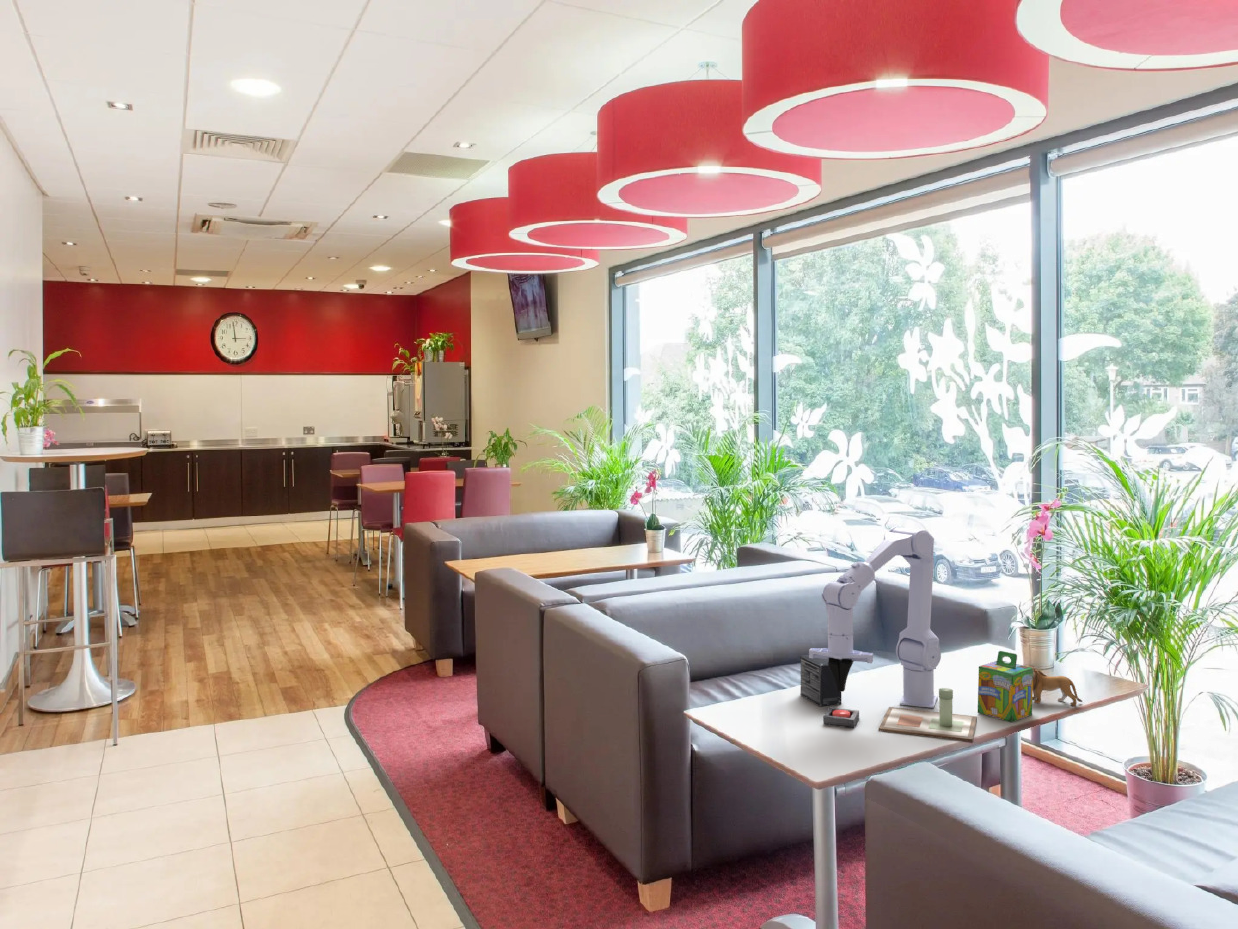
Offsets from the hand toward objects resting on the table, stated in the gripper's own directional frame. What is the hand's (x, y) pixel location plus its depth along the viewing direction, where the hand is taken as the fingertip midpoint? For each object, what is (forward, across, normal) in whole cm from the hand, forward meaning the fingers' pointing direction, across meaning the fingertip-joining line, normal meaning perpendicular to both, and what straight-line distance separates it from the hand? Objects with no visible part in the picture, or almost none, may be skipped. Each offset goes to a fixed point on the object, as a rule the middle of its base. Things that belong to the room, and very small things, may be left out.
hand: (841, 690), depth 214 cm
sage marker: (+7, +23, +4) cm, 24 cm away
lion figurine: (+8, +44, +32) cm, 55 cm away
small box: (+8, -8, +15) cm, 19 cm away
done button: (+7, 0, 0) cm, 7 cm away
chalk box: (+8, +35, +19) cm, 40 cm away
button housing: (+8, 0, 0) cm, 8 cm away
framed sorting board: (+8, +19, +5) cm, 21 cm away
